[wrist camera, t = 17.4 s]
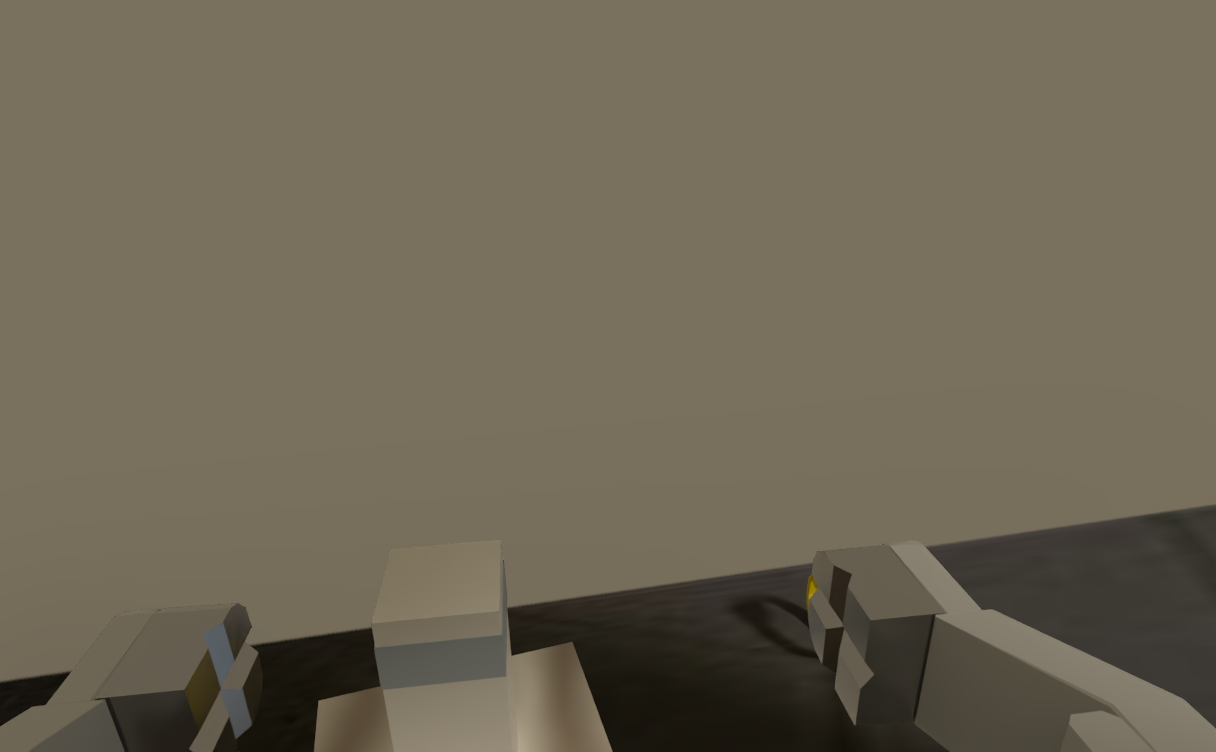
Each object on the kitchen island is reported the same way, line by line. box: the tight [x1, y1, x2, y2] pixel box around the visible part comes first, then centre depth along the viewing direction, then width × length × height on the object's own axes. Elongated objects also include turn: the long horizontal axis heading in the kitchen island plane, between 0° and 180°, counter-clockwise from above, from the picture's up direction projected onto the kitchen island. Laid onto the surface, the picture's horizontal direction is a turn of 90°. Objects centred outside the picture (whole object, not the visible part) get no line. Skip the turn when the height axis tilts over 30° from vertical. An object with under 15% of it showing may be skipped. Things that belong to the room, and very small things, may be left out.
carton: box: [371, 539, 518, 752], centre depth 36 cm, size 6×6×13 cm
